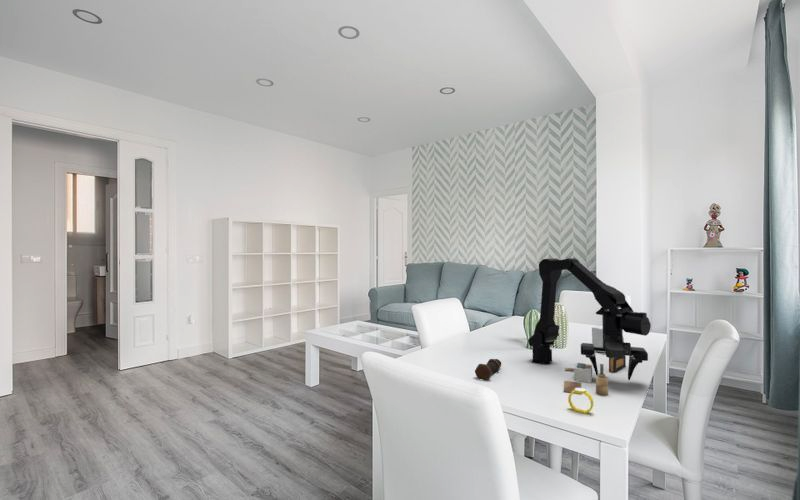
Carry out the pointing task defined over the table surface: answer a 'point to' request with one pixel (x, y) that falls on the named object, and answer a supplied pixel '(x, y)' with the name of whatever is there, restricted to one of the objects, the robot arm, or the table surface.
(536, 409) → the table surface
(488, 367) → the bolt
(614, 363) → the ammunition clip
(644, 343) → the table surface
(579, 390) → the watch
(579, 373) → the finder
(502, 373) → the table surface
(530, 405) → the table surface
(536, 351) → the robot arm
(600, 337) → the skincare box
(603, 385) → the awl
